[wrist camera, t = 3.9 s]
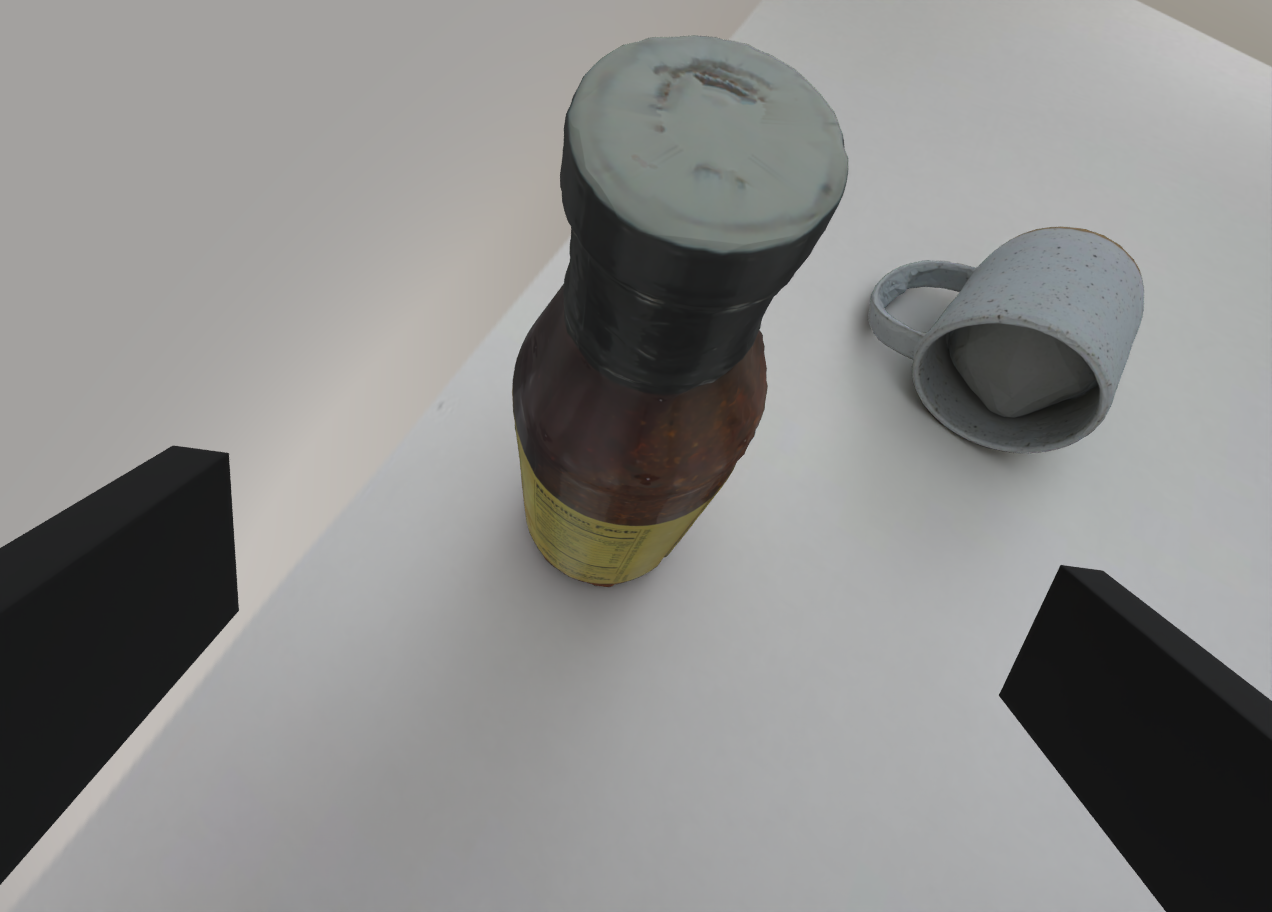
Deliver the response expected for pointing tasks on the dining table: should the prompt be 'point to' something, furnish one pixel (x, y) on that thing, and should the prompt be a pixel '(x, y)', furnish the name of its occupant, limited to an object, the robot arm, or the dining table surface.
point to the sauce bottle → (665, 292)
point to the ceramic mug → (1021, 338)
